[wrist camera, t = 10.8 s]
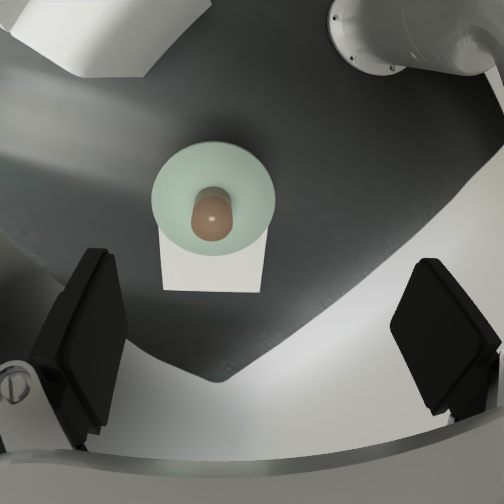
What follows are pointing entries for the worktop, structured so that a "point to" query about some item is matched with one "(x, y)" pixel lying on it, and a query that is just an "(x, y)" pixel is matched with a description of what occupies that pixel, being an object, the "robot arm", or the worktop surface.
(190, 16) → the milk
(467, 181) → the worktop surface
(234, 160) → the lid
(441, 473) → the robot arm
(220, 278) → the mat
